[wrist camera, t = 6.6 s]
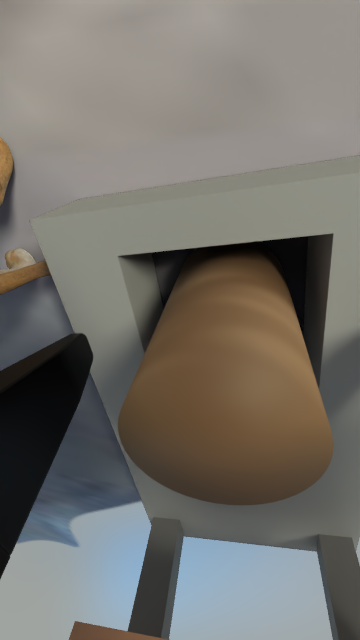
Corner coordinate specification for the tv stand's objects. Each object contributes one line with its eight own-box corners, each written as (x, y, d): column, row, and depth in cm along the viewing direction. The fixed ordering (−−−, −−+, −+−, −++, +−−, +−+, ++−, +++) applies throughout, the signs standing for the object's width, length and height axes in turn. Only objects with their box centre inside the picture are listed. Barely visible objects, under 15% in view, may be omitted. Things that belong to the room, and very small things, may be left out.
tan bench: (359, 434, 14) (495, 781, 7) (347, 493, 17) (436, 797, 9) (140, 427, 17) (57, 674, 9) (158, 480, 19) (103, 709, 12)
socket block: (397, 149, 9) (462, 157, 6) (337, 493, 17) (354, 555, 15) (78, 199, 11) (29, 219, 8) (165, 480, 19) (154, 532, 17)
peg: (285, 229, 10) (346, 362, 4) (284, 329, 12) (324, 513, 6) (170, 242, 11) (91, 367, 5) (186, 333, 13) (142, 497, 7)
